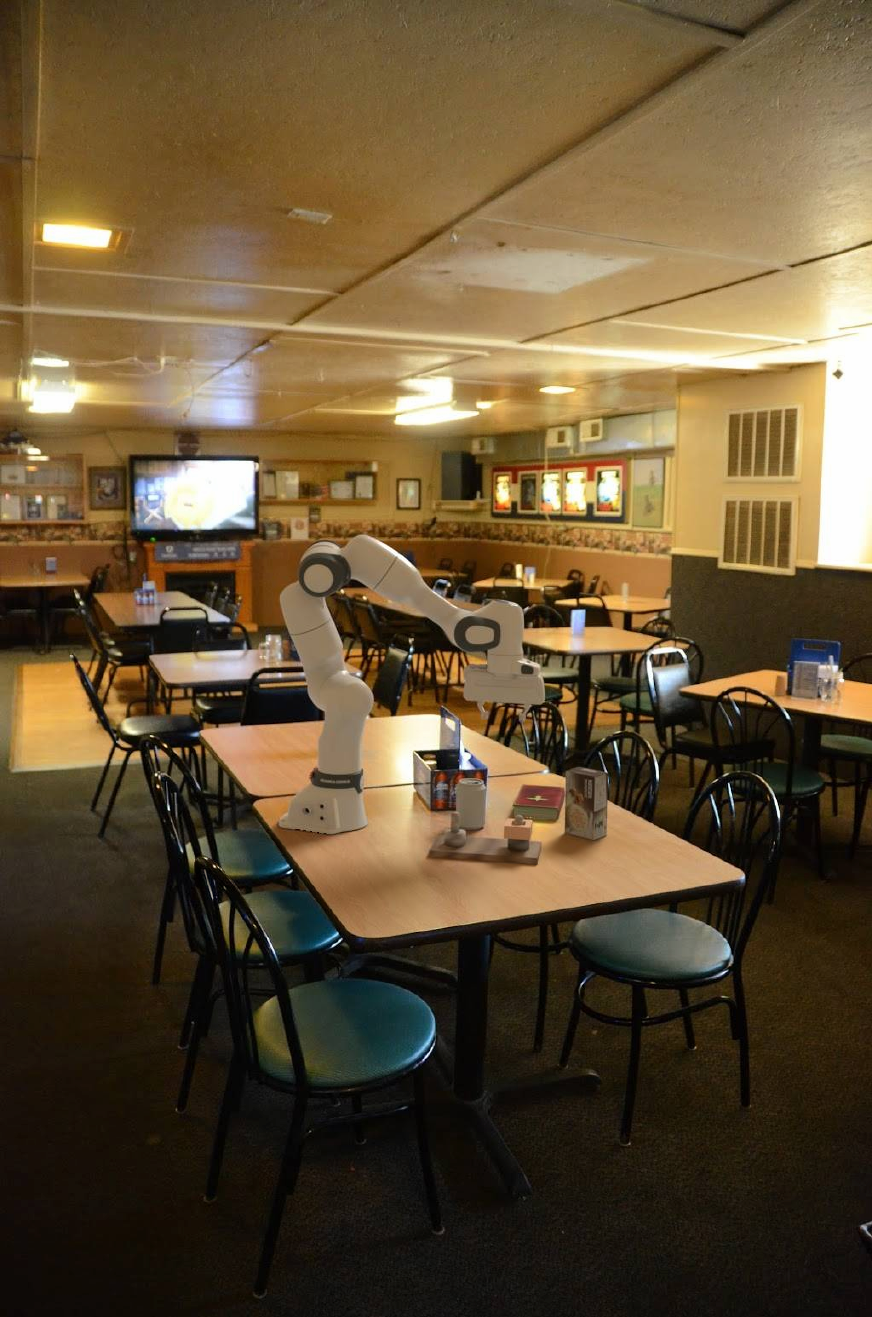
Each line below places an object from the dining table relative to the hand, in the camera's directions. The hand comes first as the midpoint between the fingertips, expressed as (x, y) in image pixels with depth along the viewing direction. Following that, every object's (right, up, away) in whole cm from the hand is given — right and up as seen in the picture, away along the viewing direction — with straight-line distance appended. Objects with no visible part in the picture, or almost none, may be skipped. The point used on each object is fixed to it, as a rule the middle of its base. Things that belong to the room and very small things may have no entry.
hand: (503, 720), depth 251 cm
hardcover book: (+11, -26, +22) cm, 36 cm away
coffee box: (+21, -29, 0) cm, 35 cm away
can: (-8, -28, +5) cm, 29 cm away
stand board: (-5, -30, -15) cm, 34 cm away
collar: (+2, -26, -17) cm, 31 cm away
